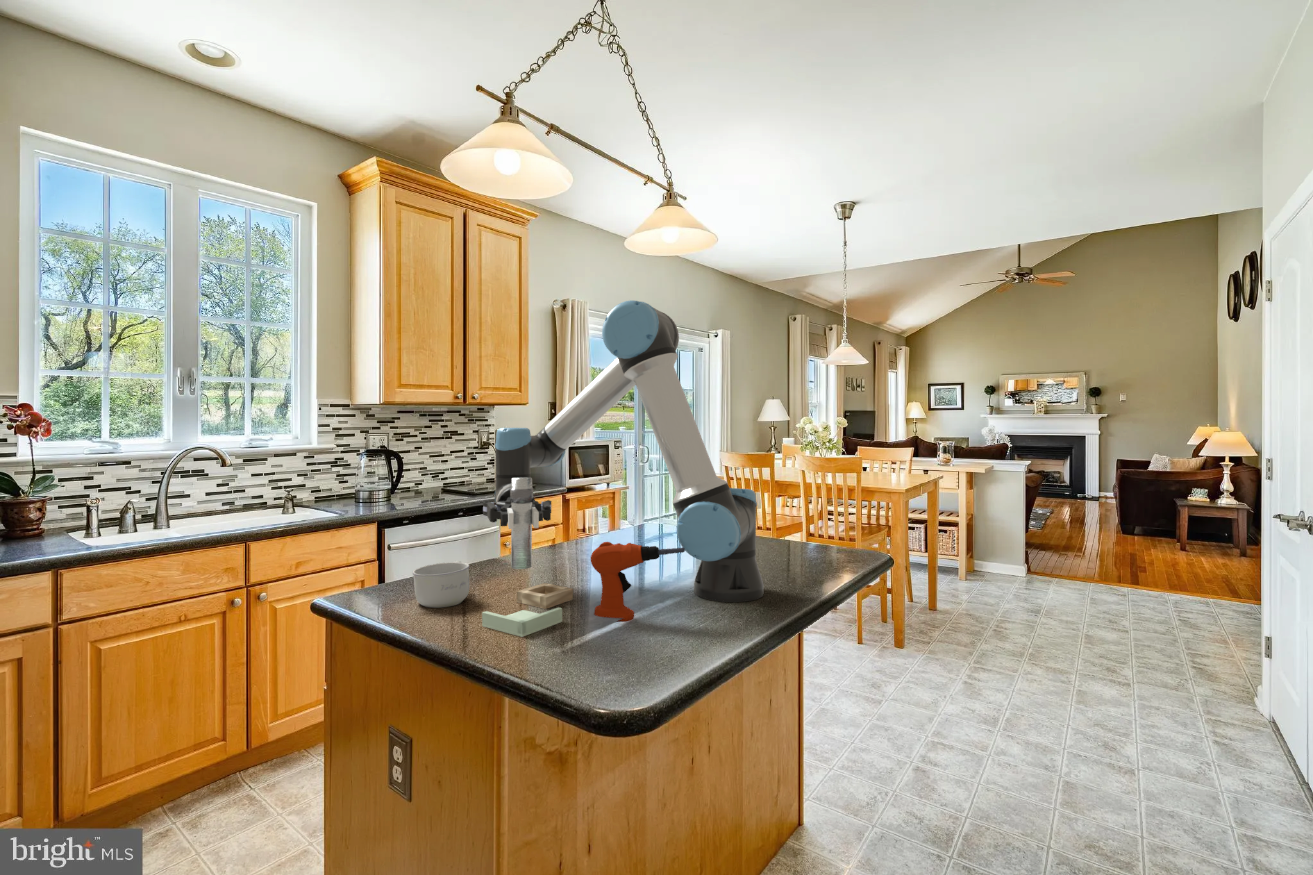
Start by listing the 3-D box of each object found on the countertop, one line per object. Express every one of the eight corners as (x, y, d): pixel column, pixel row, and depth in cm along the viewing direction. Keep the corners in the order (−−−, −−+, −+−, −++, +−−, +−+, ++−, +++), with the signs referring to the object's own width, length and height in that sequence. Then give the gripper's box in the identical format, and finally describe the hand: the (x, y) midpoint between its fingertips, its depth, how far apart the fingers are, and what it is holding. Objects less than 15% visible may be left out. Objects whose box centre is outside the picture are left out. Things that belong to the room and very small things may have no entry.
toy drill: (691, 617, 114) (681, 536, 114) (592, 625, 116) (582, 546, 116) (693, 609, 118) (684, 531, 118) (598, 617, 121) (588, 541, 121)
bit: (537, 566, 112) (537, 478, 112) (521, 570, 109) (521, 479, 109) (521, 563, 115) (522, 476, 114) (505, 567, 111) (505, 478, 111)
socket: (572, 602, 128) (573, 588, 128) (545, 612, 121) (545, 597, 121) (544, 596, 132) (544, 582, 132) (516, 605, 126) (516, 591, 126)
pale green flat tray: (562, 625, 113) (562, 608, 113) (522, 641, 105) (521, 622, 105) (523, 616, 119) (523, 599, 119) (482, 630, 111) (482, 612, 111)
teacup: (446, 616, 119) (446, 574, 118) (400, 610, 122) (400, 570, 122) (488, 597, 132) (488, 560, 132) (446, 592, 135) (446, 556, 135)
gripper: (555, 519, 131) (572, 540, 109) (473, 522, 127) (473, 544, 104) (555, 484, 131) (572, 497, 109) (473, 486, 126) (473, 500, 104)
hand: (523, 520), depth 106 cm, fingers closed on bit, 3 cm apart
